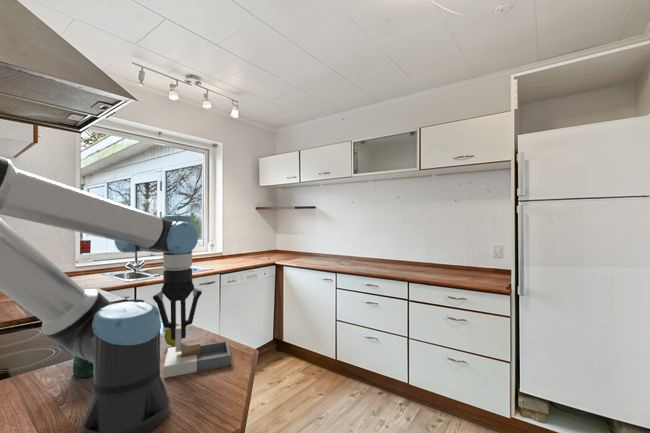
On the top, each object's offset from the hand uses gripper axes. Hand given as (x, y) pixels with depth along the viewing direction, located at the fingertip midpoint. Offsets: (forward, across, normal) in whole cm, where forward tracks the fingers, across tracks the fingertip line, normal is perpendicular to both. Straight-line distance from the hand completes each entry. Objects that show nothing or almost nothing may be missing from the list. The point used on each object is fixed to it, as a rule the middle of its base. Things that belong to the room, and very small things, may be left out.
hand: (178, 349), depth 88 cm
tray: (+4, -9, +1) cm, 10 cm away
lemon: (+5, +2, -15) cm, 16 cm away
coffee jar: (+5, +21, -6) cm, 22 cm away
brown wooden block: (+1, -3, 0) cm, 4 cm away
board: (+4, -1, 0) cm, 4 cm away
